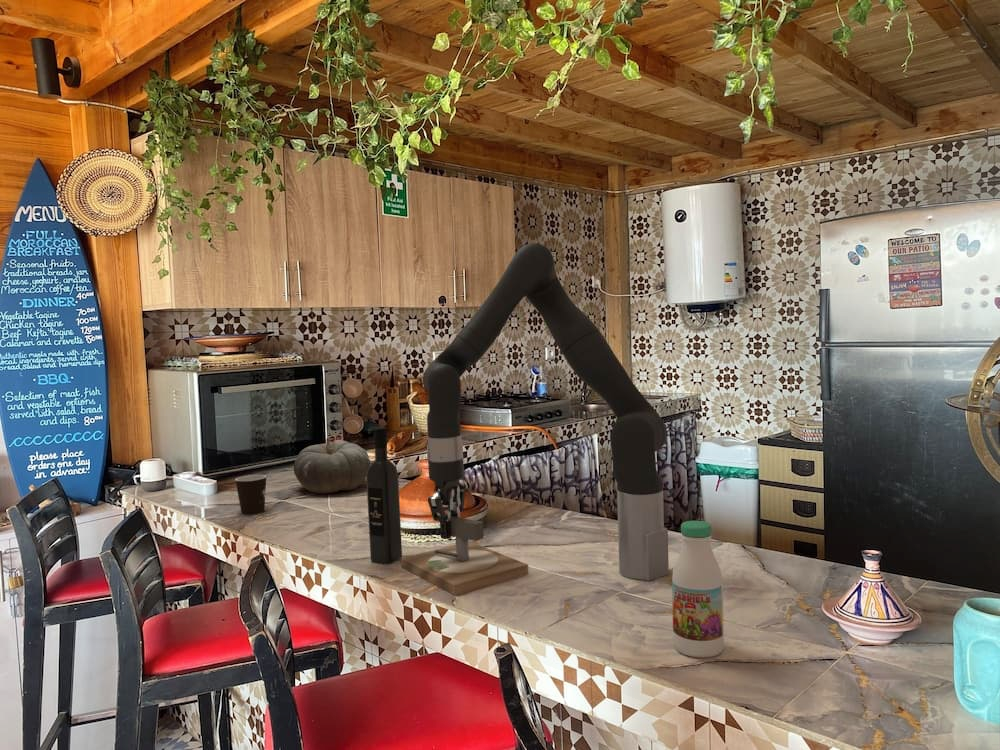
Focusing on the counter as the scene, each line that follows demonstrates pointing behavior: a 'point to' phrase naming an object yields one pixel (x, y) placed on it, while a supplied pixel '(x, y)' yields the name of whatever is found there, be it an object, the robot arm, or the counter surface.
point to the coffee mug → (251, 493)
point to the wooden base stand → (464, 568)
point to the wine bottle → (383, 504)
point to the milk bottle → (697, 594)
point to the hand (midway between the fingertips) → (450, 535)
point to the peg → (463, 536)
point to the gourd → (331, 467)
